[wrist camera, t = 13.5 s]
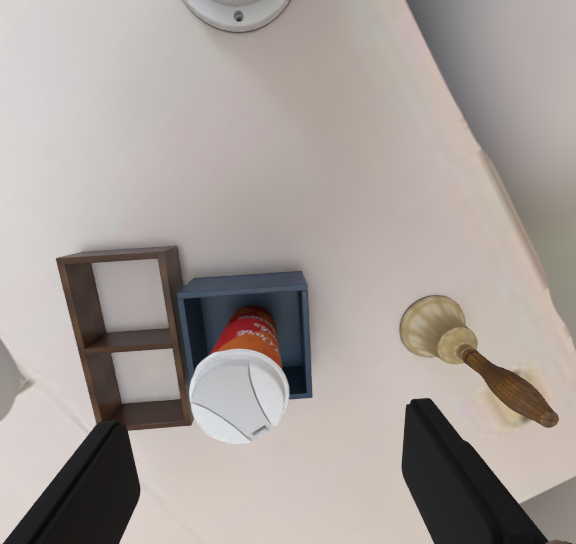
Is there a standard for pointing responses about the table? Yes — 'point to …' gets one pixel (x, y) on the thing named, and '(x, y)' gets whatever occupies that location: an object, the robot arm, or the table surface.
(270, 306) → the blue square tray
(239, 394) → the paper cup
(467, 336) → the hand bell
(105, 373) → the wooden divided tray
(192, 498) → the table surface
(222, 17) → the robot arm
